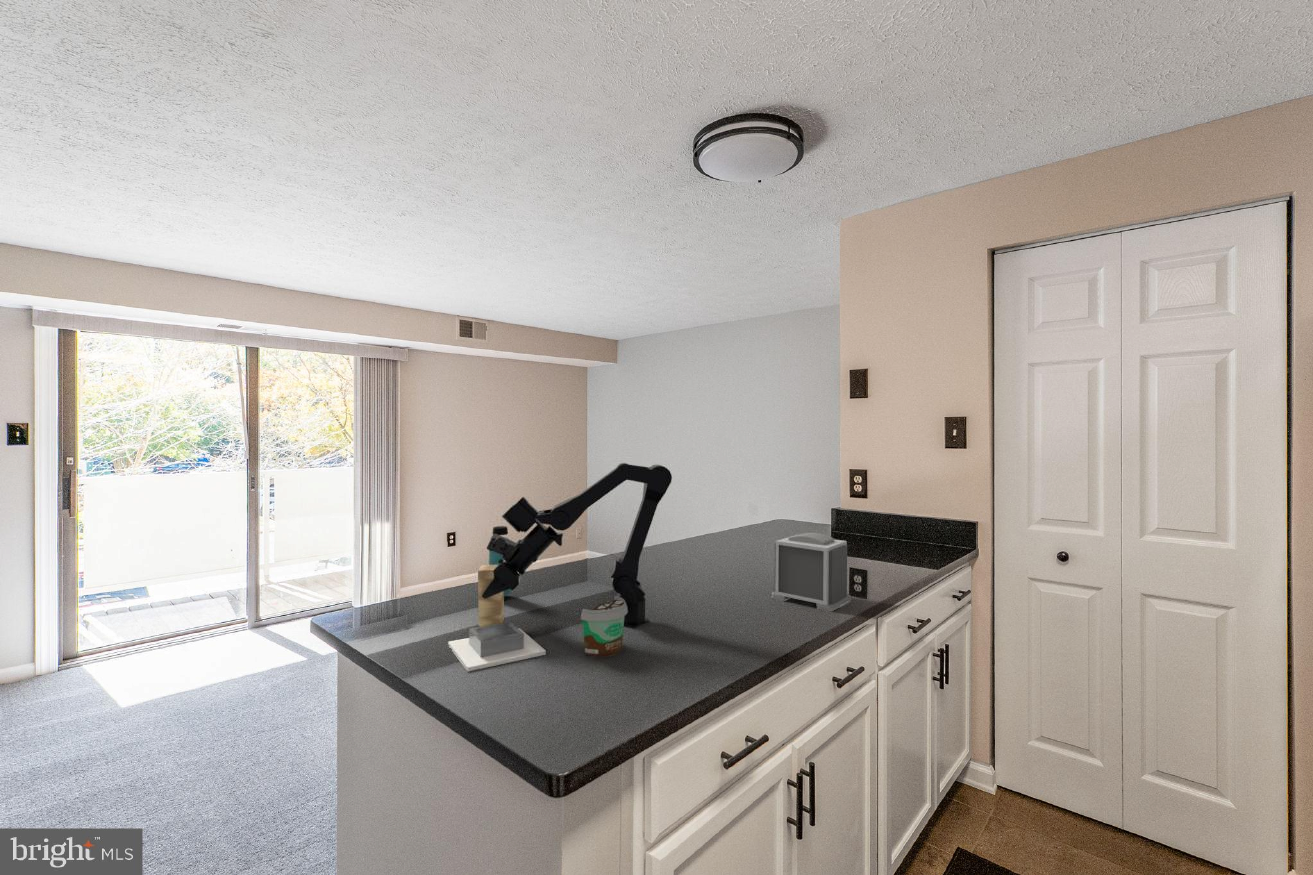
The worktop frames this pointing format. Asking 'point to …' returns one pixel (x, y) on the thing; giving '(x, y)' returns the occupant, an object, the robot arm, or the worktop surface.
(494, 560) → the beverage bottle
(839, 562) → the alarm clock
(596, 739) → the worktop surface
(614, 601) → the food container
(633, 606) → the robot arm
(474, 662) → the base plate
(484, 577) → the pine post
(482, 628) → the metal collar
